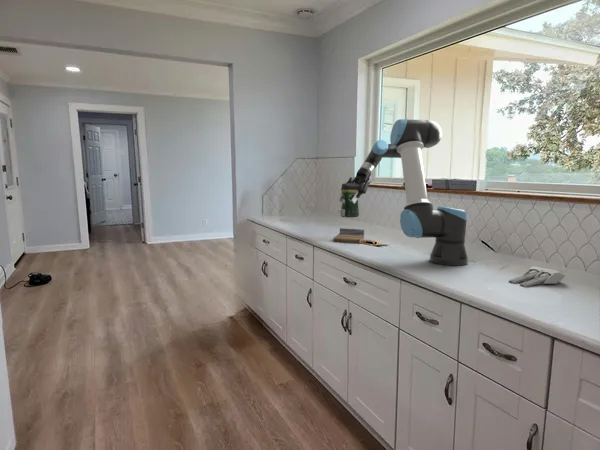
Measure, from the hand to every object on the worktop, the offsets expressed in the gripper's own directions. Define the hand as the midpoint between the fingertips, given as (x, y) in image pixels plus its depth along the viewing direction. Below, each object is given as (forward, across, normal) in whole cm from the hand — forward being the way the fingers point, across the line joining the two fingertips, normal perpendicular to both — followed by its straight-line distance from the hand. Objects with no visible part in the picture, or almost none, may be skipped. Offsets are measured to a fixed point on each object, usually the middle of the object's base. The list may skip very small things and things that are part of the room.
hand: (346, 201), depth 205 cm
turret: (+23, -96, -8) cm, 99 cm away
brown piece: (+12, +1, -19) cm, 22 cm away
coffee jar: (+4, 0, -9) cm, 9 cm away
